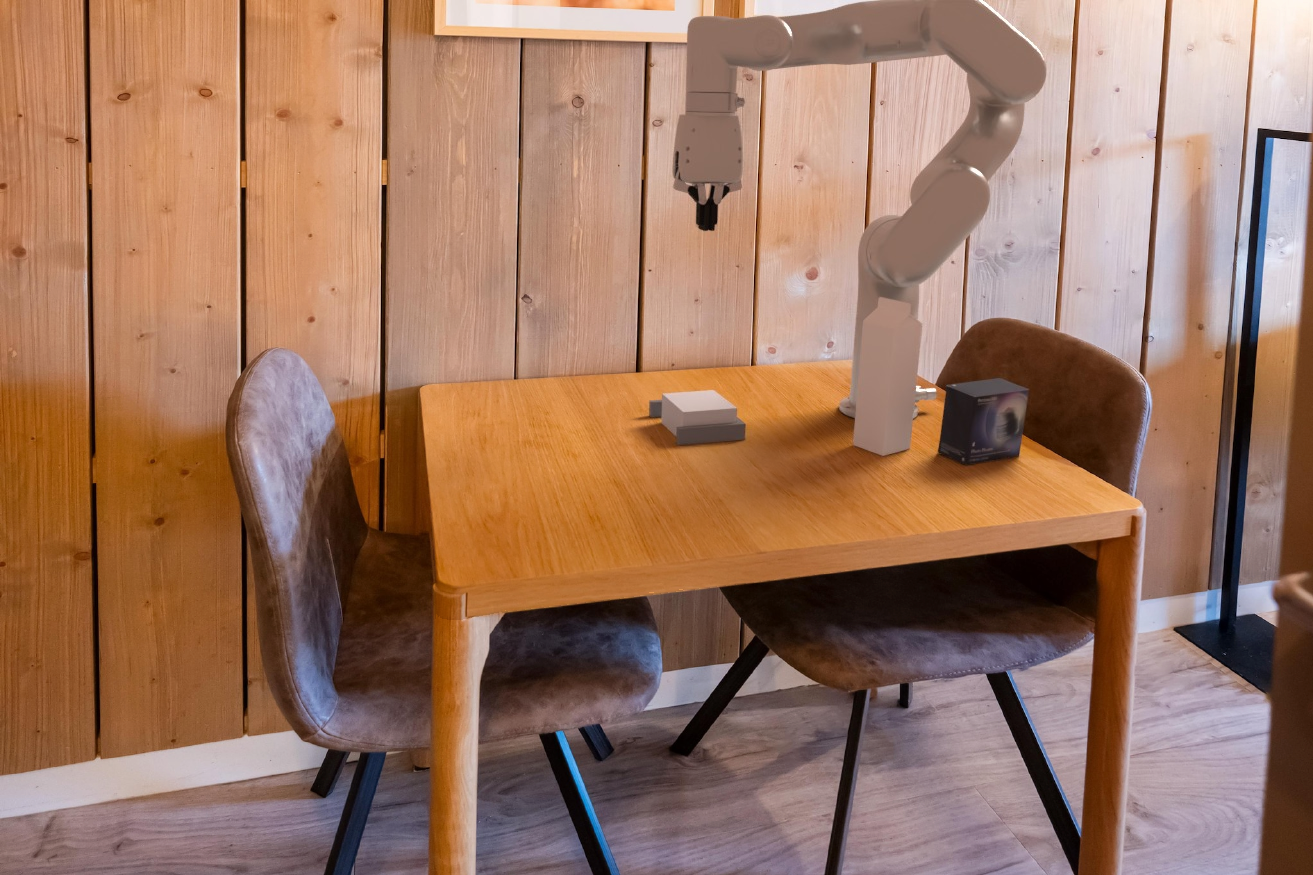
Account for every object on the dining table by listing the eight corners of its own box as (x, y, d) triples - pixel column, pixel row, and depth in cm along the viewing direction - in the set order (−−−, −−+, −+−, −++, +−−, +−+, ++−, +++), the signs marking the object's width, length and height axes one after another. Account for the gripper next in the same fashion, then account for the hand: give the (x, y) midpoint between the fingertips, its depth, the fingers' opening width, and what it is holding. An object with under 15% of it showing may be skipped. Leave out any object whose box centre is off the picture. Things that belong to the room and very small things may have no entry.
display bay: (711, 410, 174) (711, 396, 173) (744, 439, 160) (745, 423, 160) (649, 415, 171) (649, 400, 170) (678, 445, 157) (678, 428, 157)
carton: (712, 420, 170) (713, 389, 169) (735, 439, 161) (737, 408, 160) (661, 424, 168) (662, 393, 166) (682, 444, 159) (683, 412, 157)
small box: (967, 467, 151) (975, 396, 147) (935, 453, 156) (943, 384, 153) (1022, 457, 155) (1031, 387, 152) (989, 443, 161) (998, 376, 158)
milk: (882, 456, 154) (896, 306, 147) (851, 445, 159) (863, 298, 152) (911, 448, 158) (925, 301, 151) (879, 437, 162) (892, 294, 155)
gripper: (747, 105, 165) (742, 225, 171) (655, 104, 161) (652, 227, 167) (766, 106, 158) (760, 232, 164) (670, 105, 154) (667, 234, 160)
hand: (706, 229), depth 165 cm, fingers closed
